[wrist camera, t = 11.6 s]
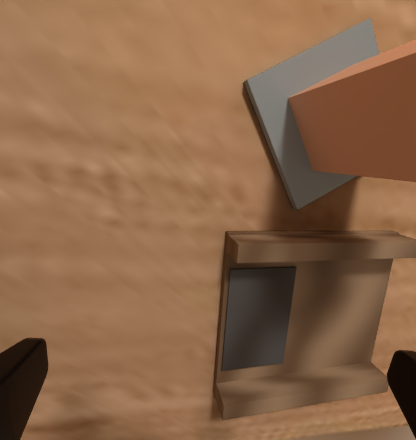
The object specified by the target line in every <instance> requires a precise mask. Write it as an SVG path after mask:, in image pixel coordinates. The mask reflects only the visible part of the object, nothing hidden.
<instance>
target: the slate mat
mask: <svg viewBox="0 0 416 440" xmlns="http://www.w3.org/2000/svg"><path fill="white" fill-rule="evenodd" d="M378 54H379V51H378V47H377V42H376V38H375V34H374V30H373V25H372V21H371V18H369V19H367V20H365V21H363V22H361V23H359V24H357V25H355V26H353V27H351V28H349V29H347V30H345V31H343V32H341V33H339V34H337V35H335V36H333V37H331V38H329V39H327V40H325V41H323V42H321V43H319V44H317V45H315V46H313V47H311V48H309V49H307V50H305V51H303V52H301V53H299V54H297V55H295V56H293V57H291V58H289V59H287V60H285V61H283V62H281V63H279V64H277V65H275V66H273V67H271V68H269V69H267V70H265V71H263V72H261V73H259V74H257V75H255V76H253V77H251V78H249V79H247V80H246V81H244V84H245V87H246V90H247V92H248V95H249V97H250V100H251V102H252V105H253V107H254V110H255V113H256V115H257V118H258V120H259V123H260V125H261V128H262V130H263V133H264V135H265V138H266V141H267V143H268V146H269V148H270V151H271V153H272V156H273V158H274V161H275V164H276V166H277V169H278V171H279V174H280V176H281V179H282V181H283V184H284V187H285V189H286V192H287V194H288V197H289V199H290V202H291V204H292V207H293V209H296V210H299V209H300V208H302V207H304V206H306V205H307V204H309V203H311V202H313V201H314V200H316V199H318V198H320V197H322V196H323V195H325V194H327V193H329V192H330V191H332V190H334V189H336V188H337V187H339V186H341V185H343V184H344V183H346V182H348V181H350V180H351V179H353V178H355V177H357V176H356V175H347V174H337V173H328V172H319V171H313V170H312V167H311V164H310V161H309V158H308V155H307V152H306V149H305V147H304V144H303V141H302V138H301V135H300V132H299V129H298V126H297V123H296V120H295V118H294V115H293V112H292V109H291V106H290V103H289V100H288V98H289V97H291V96H293V95H295V94H297V93H299V92H301V91H303V90H305V89H307V88H309V87H311V86H313V85H315V84H316V83H318V82H320V81H322V80H324V79H326V78H328V77H330V76H332V75H334V74H336V73H338V72H340V71H342V70H344V69H346V68H348V67H350V66H352V65H354V64H356V63H358V62H361V61H363V60H366V59H368V58H371V57H373V56H376V55H378Z"/></svg>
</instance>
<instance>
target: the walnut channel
mask: <svg viewBox="0 0 416 440" xmlns="http://www.w3.org/2000/svg"><path fill="white" fill-rule="evenodd" d="M393 258H416V239H413V238H409V237H406V236H403V235H400V234H399V233H398V232H395V231H226V236H225V248H224V261H223V273H222V286H221V299H220V311H219V324H218V336H217V349H216V362H215V374H214V387H213V393H214V396H215V398H216V401H217V404H218V407H219V410H220V413H221V416H222V420H227V419H232V418H238V417H244V416H250V415H256V414H261V413H267V412H273V411H279V410H285V409H290V408H296V407H302V406H308V405H314V404H319V403H325V402H331V401H337V400H343V399H348V398H354V397H360V396H366V395H372V394H377V393H383V392H387V390H388V385H389V384H388V381H387V376H386V375H385V374H383V373H382V372H381V371H380V370H379V369H378V368H377V367H376V366H375V365H373V364H372V363H371V358H372V353H373V349H374V344H375V340H376V335H377V330H378V326H379V321H380V317H381V312H382V308H383V303H384V298H385V294H386V289H387V285H388V280H389V275H390V271H391V266H392V262H393Z"/></svg>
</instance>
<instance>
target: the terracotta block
mask: <svg viewBox="0 0 416 440" xmlns="http://www.w3.org/2000/svg"><path fill="white" fill-rule="evenodd" d="M288 100H289V103H290V106H291V109H292V112H293V115H294V118H295V120H296V123H297V126H298V129H299V132H300V135H301V138H302V141H303V144H304V147H305V149H306V152H307V155H308V158H309V161H310V164H311V167H312V170H313V171H319V172H328V173H337V174H347V175H356V176H365V177H374V178H384V179H393V180H402V181H411V182H416V39H415V40H413V41H410V42H408V43H405V44H403V45H401V46H398V47H396V48H393V49H391V50H388V51H386V52H383V53H381V54H378V55H376V56H373V57H371V58H368V59H366V60H363V61H361V62H358V63H356V64H354V65H352V66H350V67H348V68H346V69H344V70H342V71H340V72H338V73H336V74H334V75H332V76H330V77H328V78H326V79H324V80H322V81H320V82H318V83H316V84H315V85H313V86H311V87H309V88H307V89H305V90H303V91H301V92H299V93H297V94H295V95H293V96H291V97H289V98H288Z"/></svg>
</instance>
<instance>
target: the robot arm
mask: <svg viewBox="0 0 416 440" xmlns="http://www.w3.org/2000/svg"><path fill="white" fill-rule="evenodd" d="M47 372H48V357H47V346H46V341H45V340H44V339H42V338H26V339H24V340H22V341H20V342H18V343H17V344H15V345H13V346H12V347H10V348H8V349H7V350H5V351H3V352H2V353H0V440H20V438H21V436H22V434H23V431H24V429H25V426H26V424H27V422H28V419H29V417H30V414H31V412H32V409H33V407H34V405H35V402H36V400H37V397H38V395H39V393H40V390H41V388H42V385H43V383H44V380H45V378H46V375H47ZM387 381H388V384H389V386H390V388H391V390H392V392H393V394H394V396H395V398H396V400H397V402H398V404H399V406H400V408H401V410H402V412H403V414H404V416H405V418H406V420H407V422H408V424H409V426H410V428H411V430H412V432H413V434H414V436H415V438H416V352H414V351H408V350H398V351H396V352H395V353H394V355H393V358H392V361H391V364H390V367H389V370H388V372H387Z"/></svg>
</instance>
